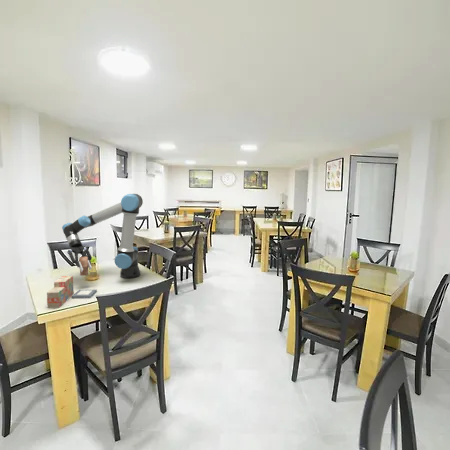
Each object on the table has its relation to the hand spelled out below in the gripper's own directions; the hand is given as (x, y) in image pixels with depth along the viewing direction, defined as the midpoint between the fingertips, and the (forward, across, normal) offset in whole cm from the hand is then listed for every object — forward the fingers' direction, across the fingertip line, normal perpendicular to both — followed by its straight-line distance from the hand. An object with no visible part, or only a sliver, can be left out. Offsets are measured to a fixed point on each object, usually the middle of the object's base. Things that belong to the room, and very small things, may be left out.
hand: (86, 269), depth 185 cm
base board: (+16, +6, -2) cm, 18 cm away
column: (0, 0, -6) cm, 6 cm away
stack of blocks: (+16, +19, -4) cm, 25 cm away
